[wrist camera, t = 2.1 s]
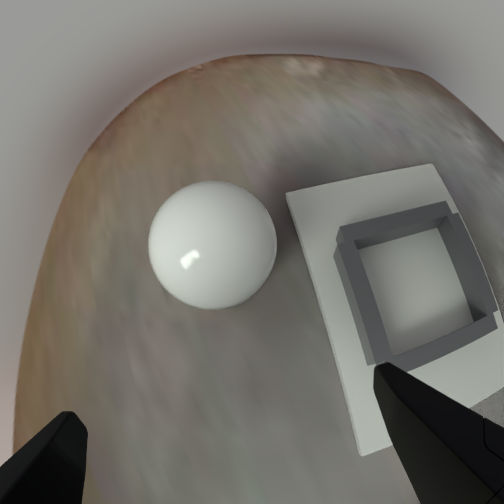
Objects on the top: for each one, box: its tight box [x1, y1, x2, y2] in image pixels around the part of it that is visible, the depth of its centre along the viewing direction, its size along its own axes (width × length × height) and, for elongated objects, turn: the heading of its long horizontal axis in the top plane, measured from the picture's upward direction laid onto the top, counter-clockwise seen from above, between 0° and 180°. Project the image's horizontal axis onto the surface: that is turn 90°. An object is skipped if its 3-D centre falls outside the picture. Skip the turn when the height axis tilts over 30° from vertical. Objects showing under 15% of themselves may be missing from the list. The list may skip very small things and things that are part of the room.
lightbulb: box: [148, 180, 277, 310], centre depth 18 cm, size 6×6×11 cm
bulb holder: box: [286, 163, 504, 456], centre depth 20 cm, size 20×14×3 cm
